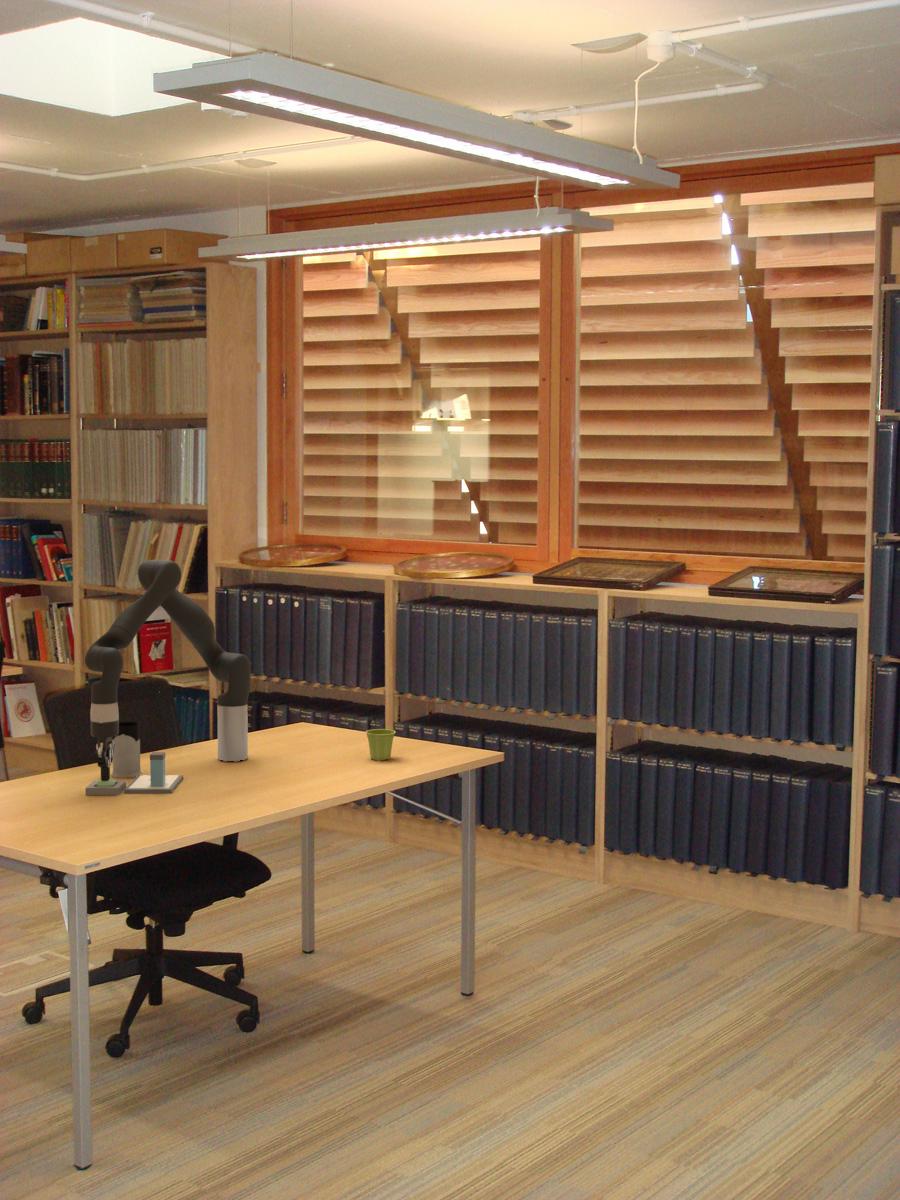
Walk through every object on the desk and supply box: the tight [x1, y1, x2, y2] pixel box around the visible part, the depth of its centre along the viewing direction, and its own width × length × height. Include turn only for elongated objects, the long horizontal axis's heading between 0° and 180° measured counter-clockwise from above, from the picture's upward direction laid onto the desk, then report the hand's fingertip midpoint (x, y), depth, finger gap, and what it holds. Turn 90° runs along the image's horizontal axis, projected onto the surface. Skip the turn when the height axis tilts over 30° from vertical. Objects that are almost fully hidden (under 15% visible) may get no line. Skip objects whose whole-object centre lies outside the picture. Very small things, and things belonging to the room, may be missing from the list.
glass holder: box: [111, 721, 143, 779], centre depth 380 cm, size 9×14×15 cm, turn 1°
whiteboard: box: [123, 774, 184, 794], centre depth 364 cm, size 18×13×1 cm
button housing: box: [84, 780, 127, 796], centre depth 356 cm, size 9×9×2 cm
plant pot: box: [365, 728, 396, 761], centre depth 402 cm, size 9×9×9 cm
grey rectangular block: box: [149, 751, 166, 787], centre depth 358 cm, size 4×4×9 cm
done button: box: [95, 777, 116, 787], centre depth 356 cm, size 5×5×2 cm
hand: (105, 780), depth 356 cm, fingers closed
